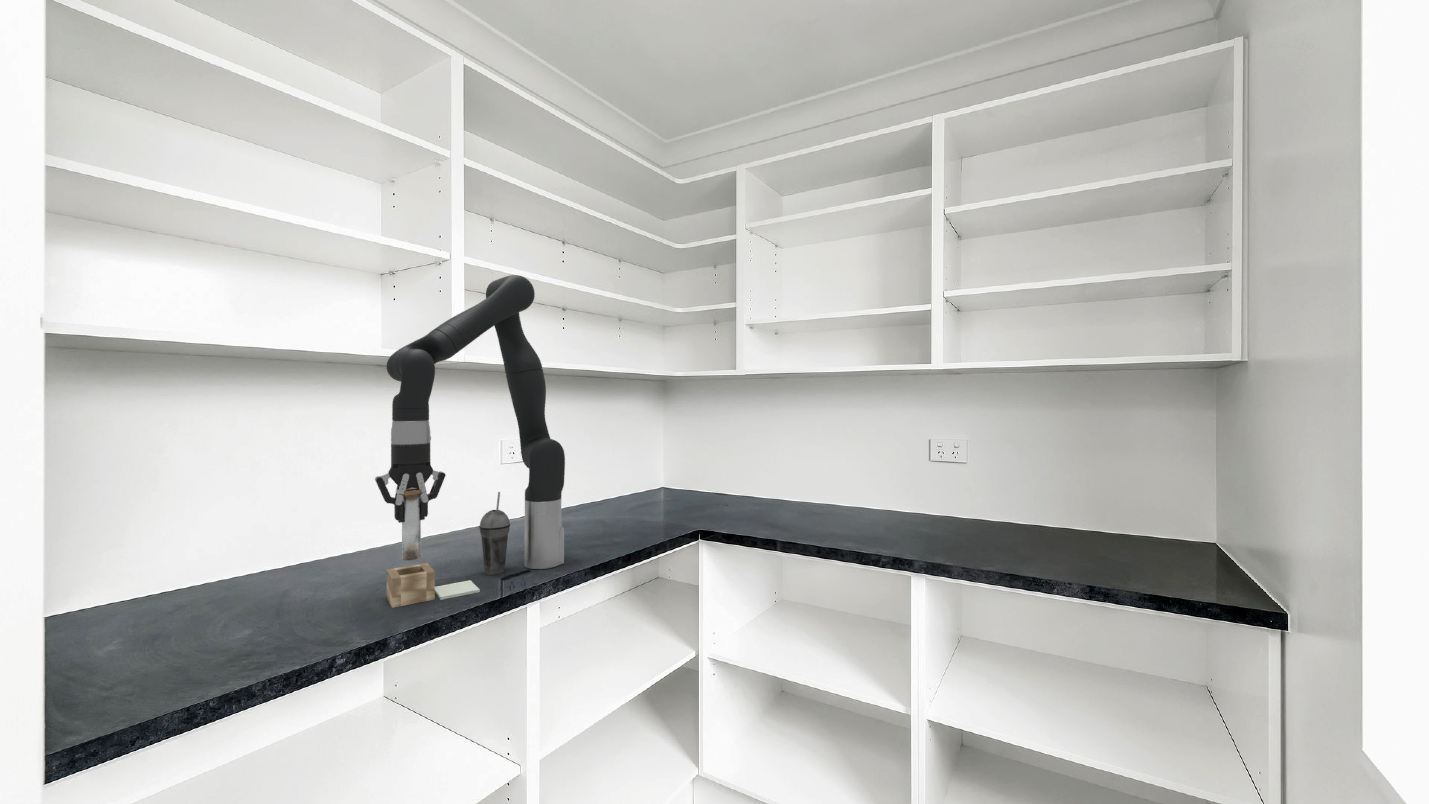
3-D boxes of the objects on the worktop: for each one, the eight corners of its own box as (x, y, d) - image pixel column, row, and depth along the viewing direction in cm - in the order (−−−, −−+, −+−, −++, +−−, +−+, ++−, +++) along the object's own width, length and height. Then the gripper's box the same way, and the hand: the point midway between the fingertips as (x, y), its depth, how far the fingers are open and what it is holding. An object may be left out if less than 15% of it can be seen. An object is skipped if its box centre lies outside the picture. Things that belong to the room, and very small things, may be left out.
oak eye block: (427, 589, 126) (427, 563, 126) (434, 599, 119) (434, 571, 119) (386, 596, 121) (386, 569, 121) (392, 607, 114) (392, 579, 114)
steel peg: (421, 553, 123) (421, 486, 123) (425, 558, 120) (425, 489, 120) (397, 557, 120) (396, 488, 120) (400, 562, 117) (400, 491, 117)
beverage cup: (472, 573, 138) (473, 493, 138) (498, 566, 144) (498, 489, 144) (490, 578, 134) (490, 495, 134) (516, 570, 140) (516, 491, 140)
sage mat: (470, 582, 130) (470, 580, 130) (479, 592, 124) (479, 589, 124) (432, 589, 125) (432, 587, 125) (440, 599, 119) (440, 597, 119)
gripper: (442, 439, 127) (442, 513, 127) (370, 442, 119) (371, 522, 119) (450, 441, 121) (450, 519, 121) (375, 444, 113) (375, 528, 113)
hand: (411, 520), depth 120 cm, fingers closed on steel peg, 3 cm apart
